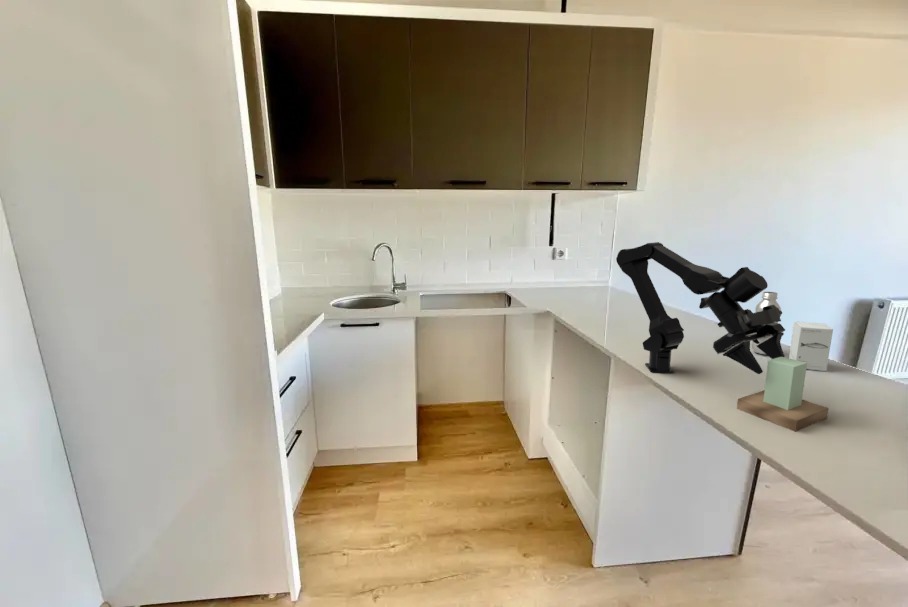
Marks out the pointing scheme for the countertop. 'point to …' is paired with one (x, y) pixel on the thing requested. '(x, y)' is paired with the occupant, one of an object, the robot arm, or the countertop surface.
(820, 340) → the supplement box
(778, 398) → the sage block
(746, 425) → the countertop surface
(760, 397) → the walnut plinth
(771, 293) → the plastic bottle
